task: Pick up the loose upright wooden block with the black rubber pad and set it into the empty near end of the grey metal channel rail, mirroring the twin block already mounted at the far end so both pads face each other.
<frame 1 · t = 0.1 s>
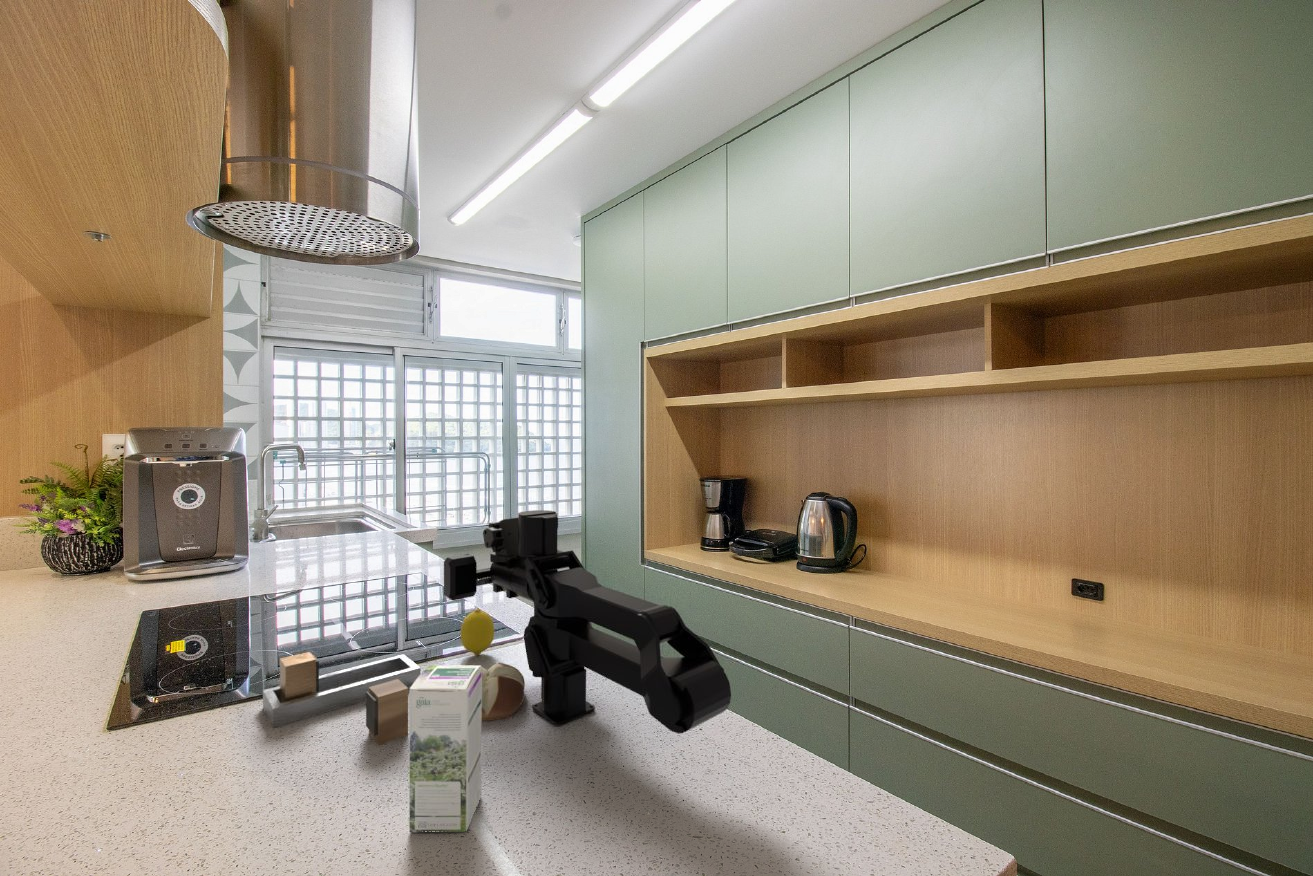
hand: (479, 560, 98), 17 cm above the counter, tool horizontal, fingers open, 9 cm apart
rail: (345, 695, 84), on the counter
bread: (484, 706, 82), on the counter
lemon: (477, 656, 99), on the counter
upright wooden block: (388, 734, 74), on the counter
syrup box: (446, 817, 59), on the counter
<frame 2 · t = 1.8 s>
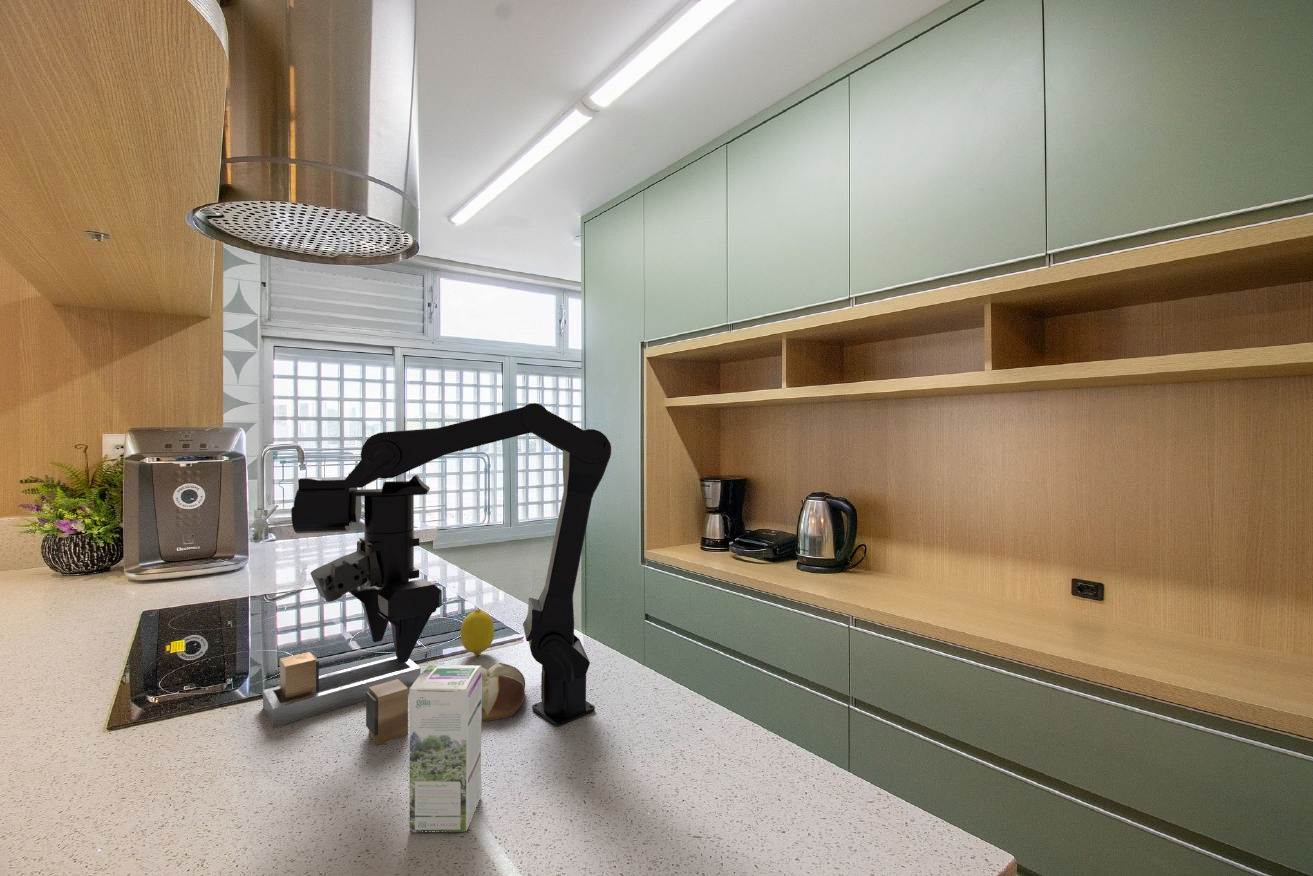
hand: (389, 651, 74), 11 cm above the counter, tool pointing down, fingers open, 9 cm apart
nothing on the counter moved.
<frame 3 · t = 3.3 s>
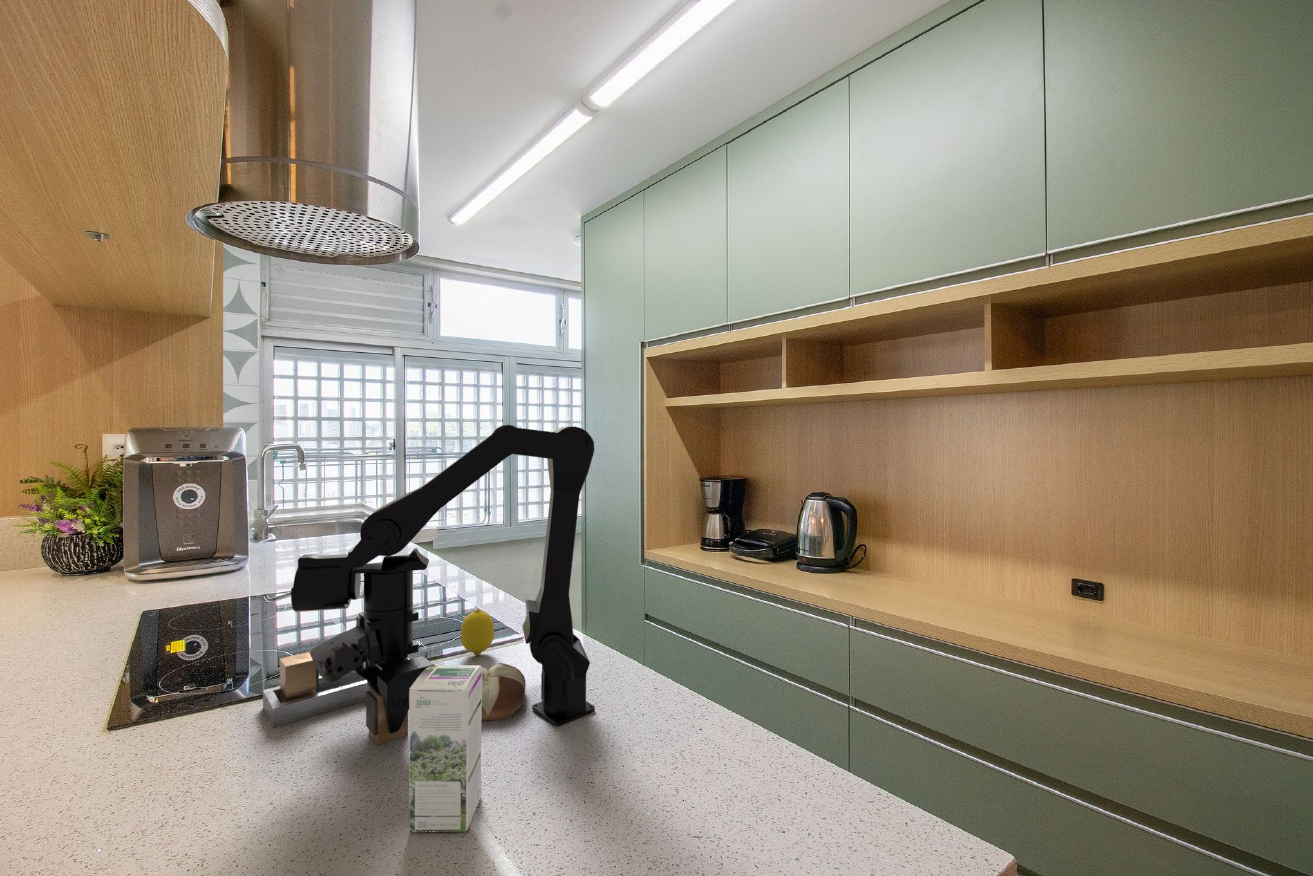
hand: (388, 725, 74), 1 cm above the counter, tool pointing down, fingers closed on upright wooden block, 4 cm apart
upright wooden block: (388, 733, 74), on the counter, touching gripper
everything else where it was.
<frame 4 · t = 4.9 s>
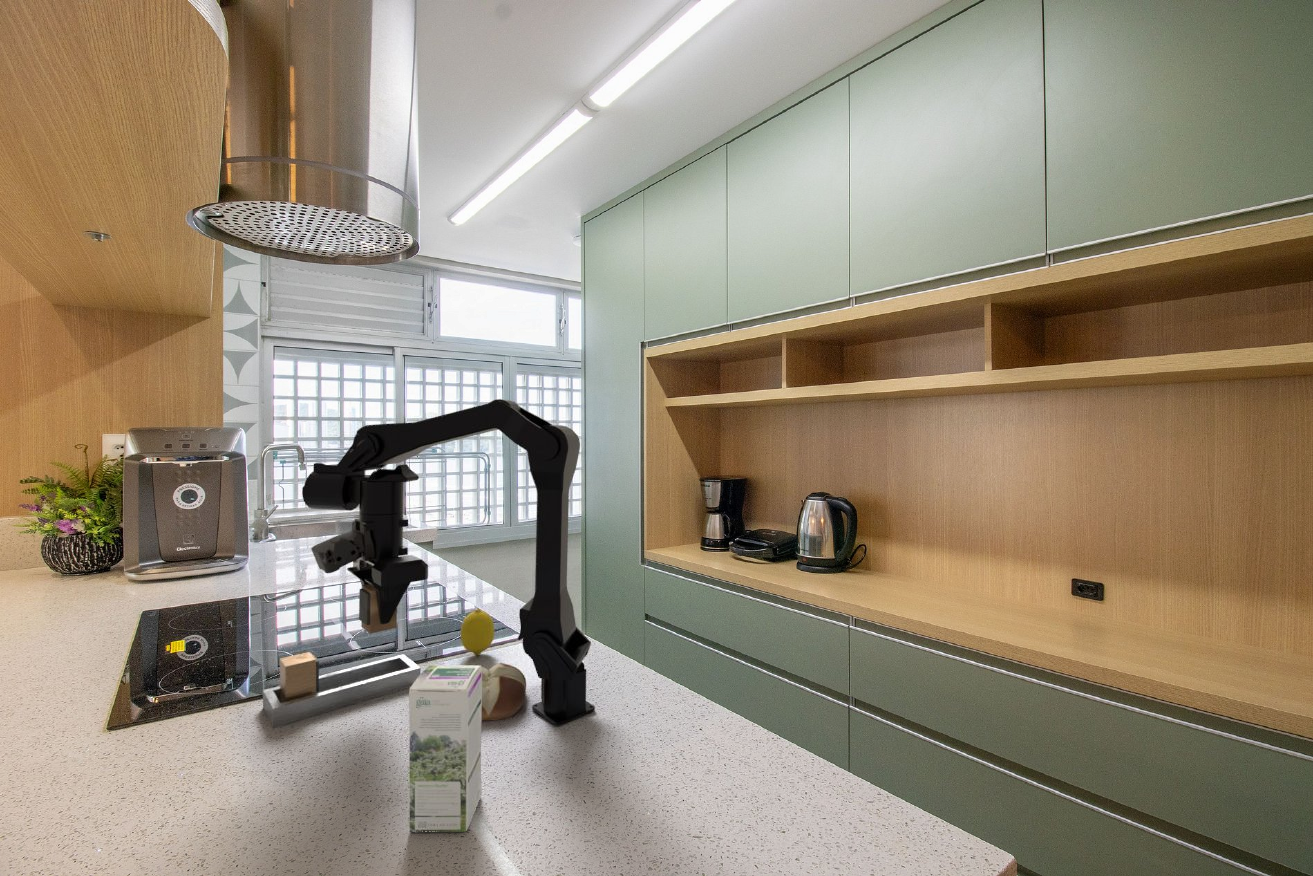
hand: (379, 619, 83), 11 cm above the counter, tool pointing down, fingers closed on upright wooden block, 4 cm apart
upright wooden block: (379, 627, 83), point 10 cm above the counter, touching gripper
everything else where it was.
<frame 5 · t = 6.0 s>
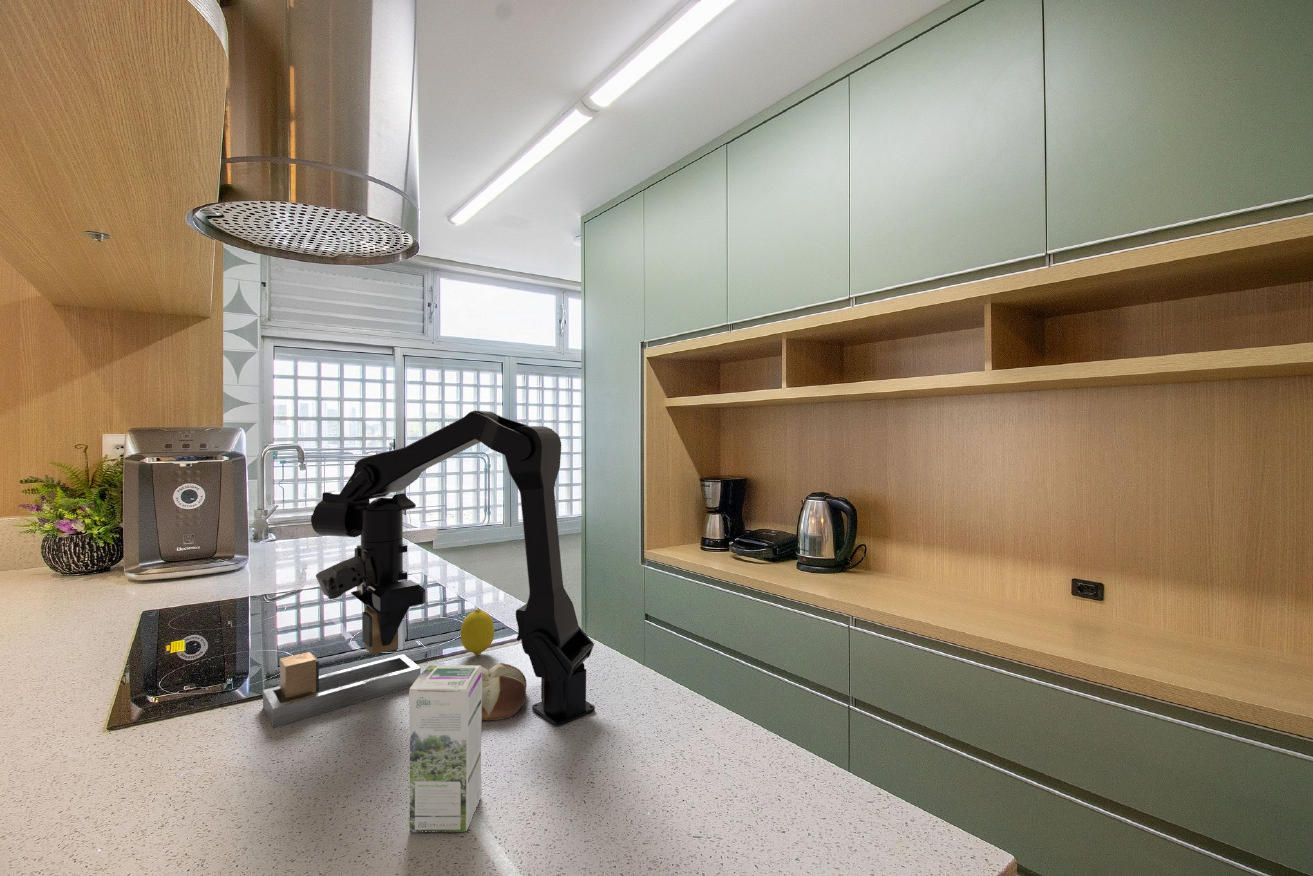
hand: (382, 641, 87), 7 cm above the counter, tool pointing down, fingers closed on upright wooden block, 4 cm apart
upright wooden block: (381, 648, 87), point 6 cm above the counter, touching gripper
everything else where it was.
when the fingers open (3 cm above the counter, at t = 6.8 s): upright wooden block drops 1 cm, resting on rail.
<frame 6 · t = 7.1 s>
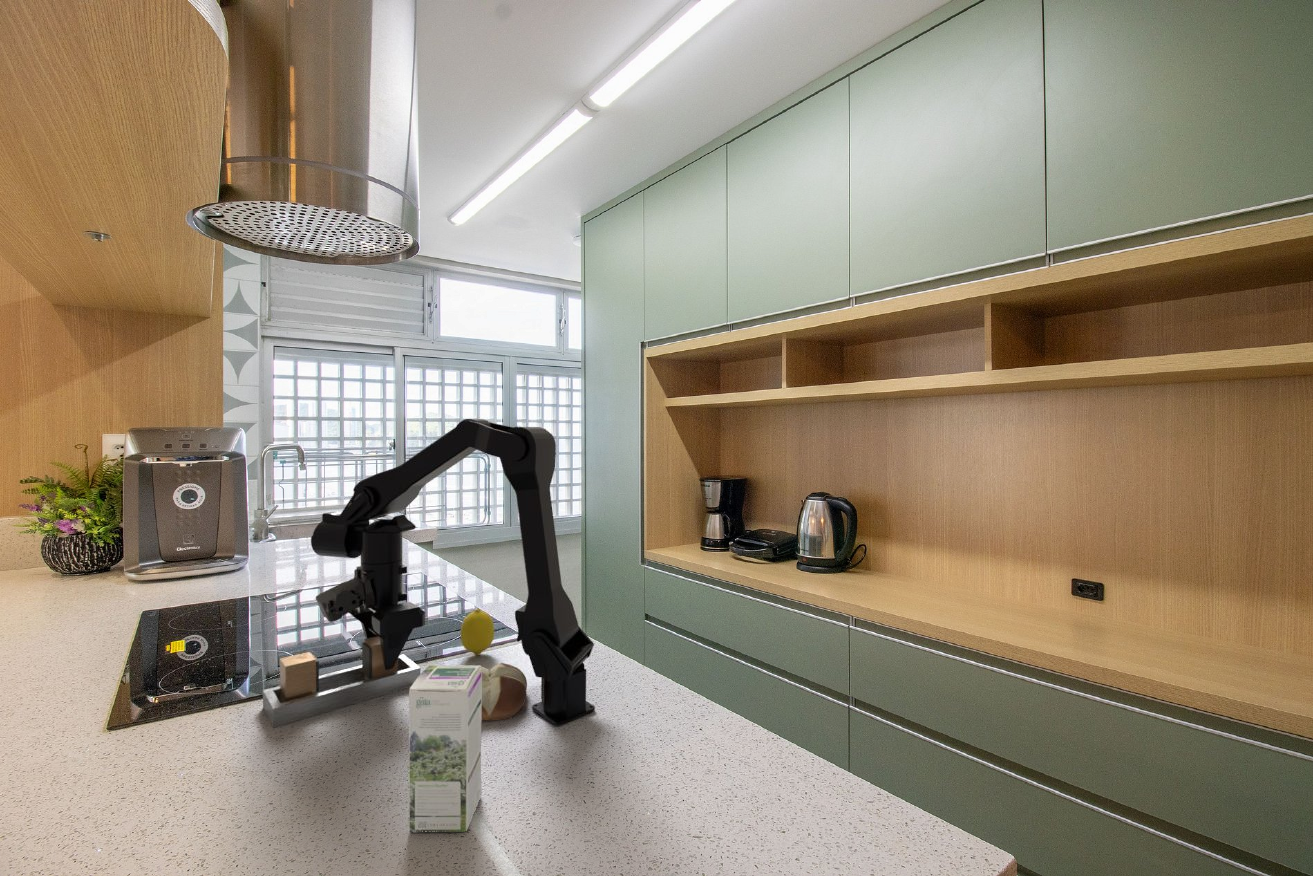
hand: (381, 662, 87), 3 cm above the counter, tool pointing down, fingers open, 6 cm apart
upright wooden block: (381, 678, 87), point 1 cm above the counter, touching rail
everything else where it was.
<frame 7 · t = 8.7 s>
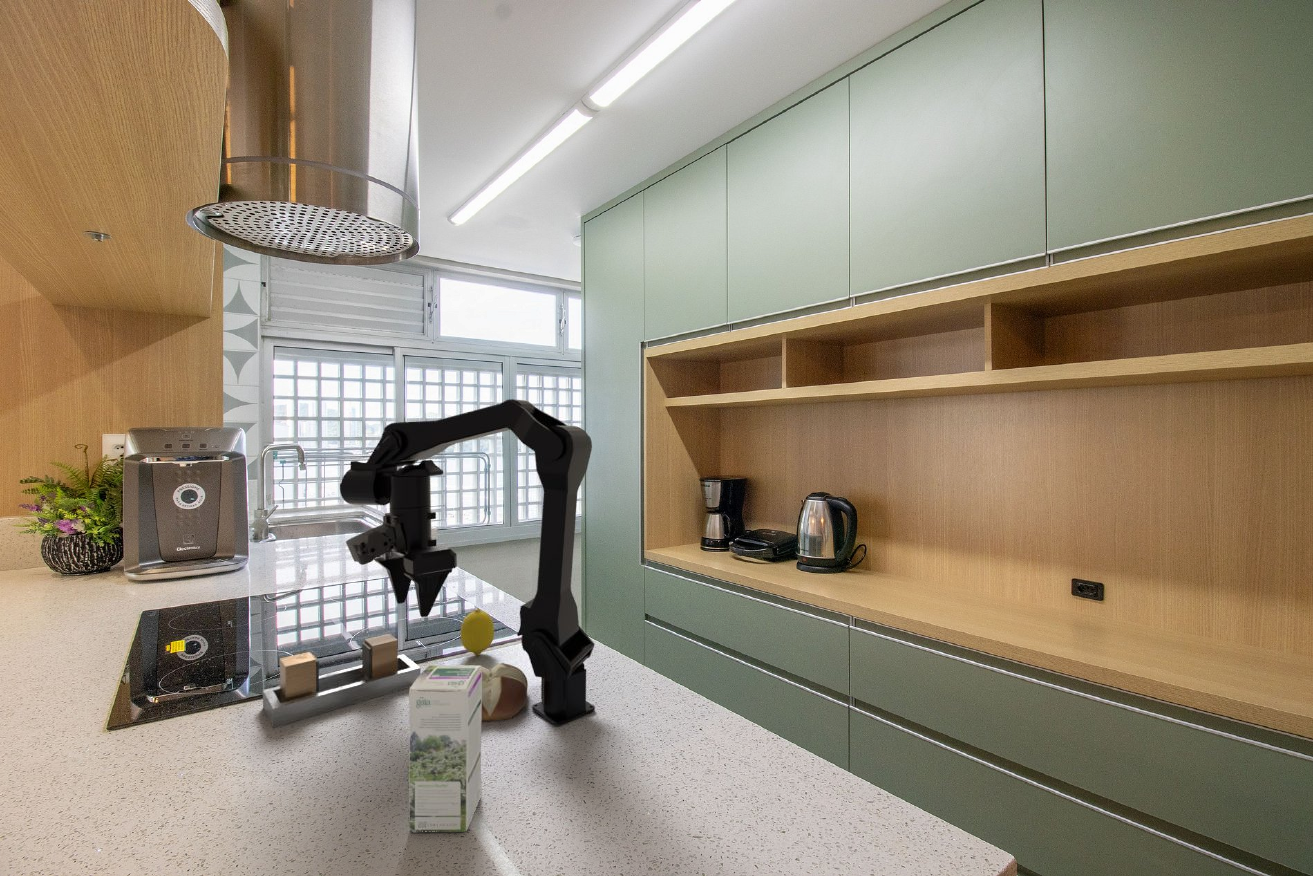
hand: (412, 609, 87), 12 cm above the counter, tool pointing down, fingers open, 9 cm apart
nothing on the counter moved.
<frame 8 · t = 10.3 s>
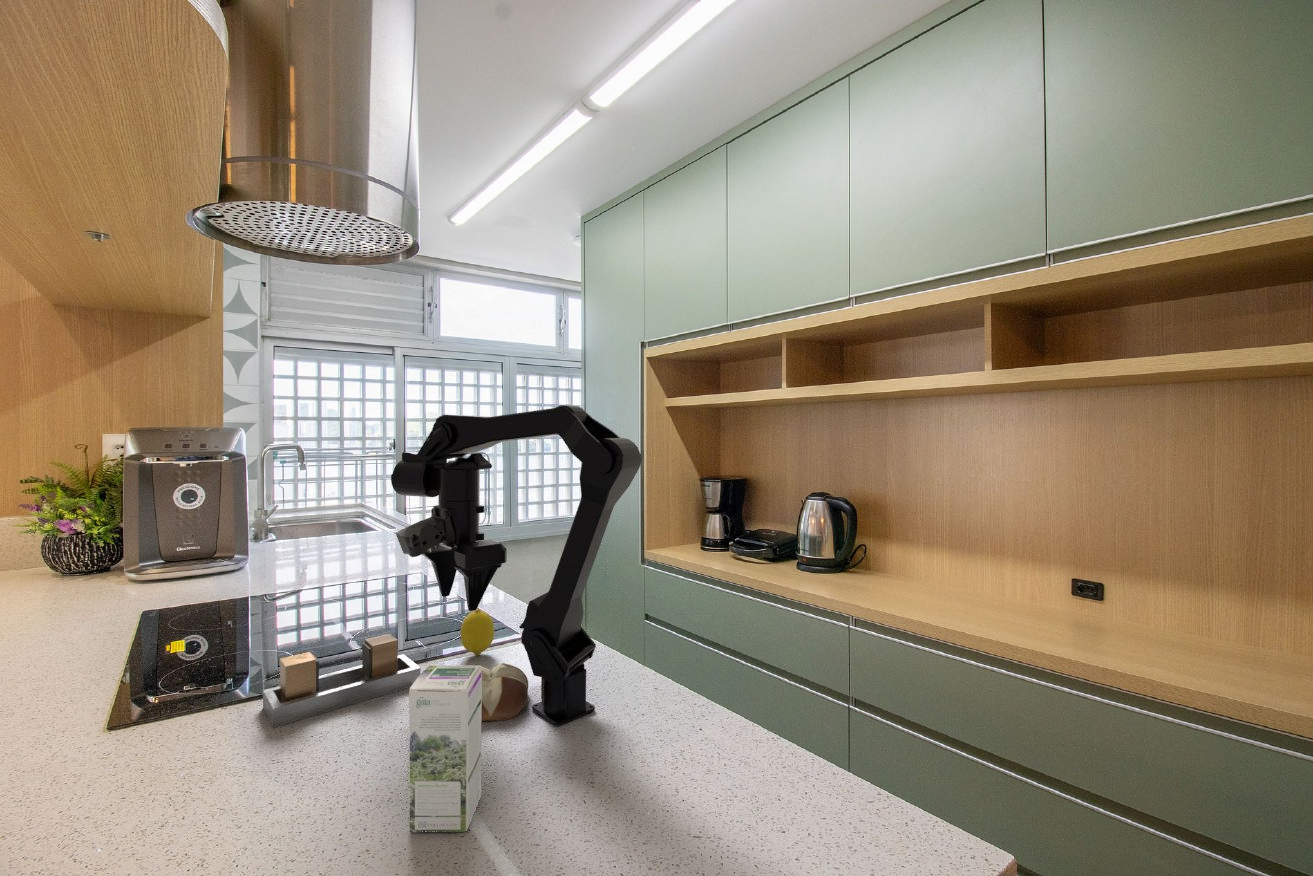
hand: (458, 603, 86), 13 cm above the counter, tool pointing down, fingers open, 9 cm apart
nothing on the counter moved.
at the end: upright wooden block 0.2 cm from the target spot on the rail, point 1.0 cm above the rail's base; upright wooden block tilted 0°; the gripper is holding nothing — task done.
